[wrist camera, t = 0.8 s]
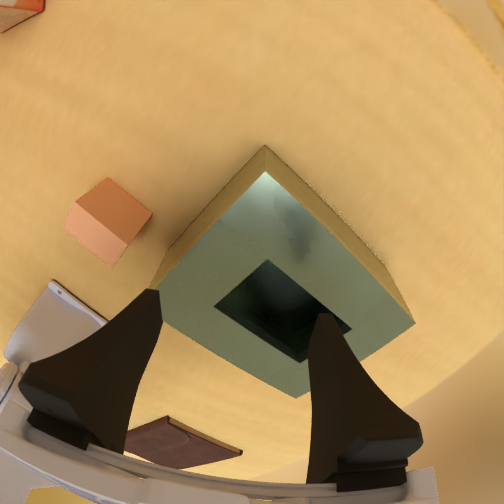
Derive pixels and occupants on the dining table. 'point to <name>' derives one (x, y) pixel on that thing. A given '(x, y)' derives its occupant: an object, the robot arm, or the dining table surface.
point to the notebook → (176, 445)
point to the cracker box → (17, 11)
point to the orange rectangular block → (106, 220)
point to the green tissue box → (275, 277)
